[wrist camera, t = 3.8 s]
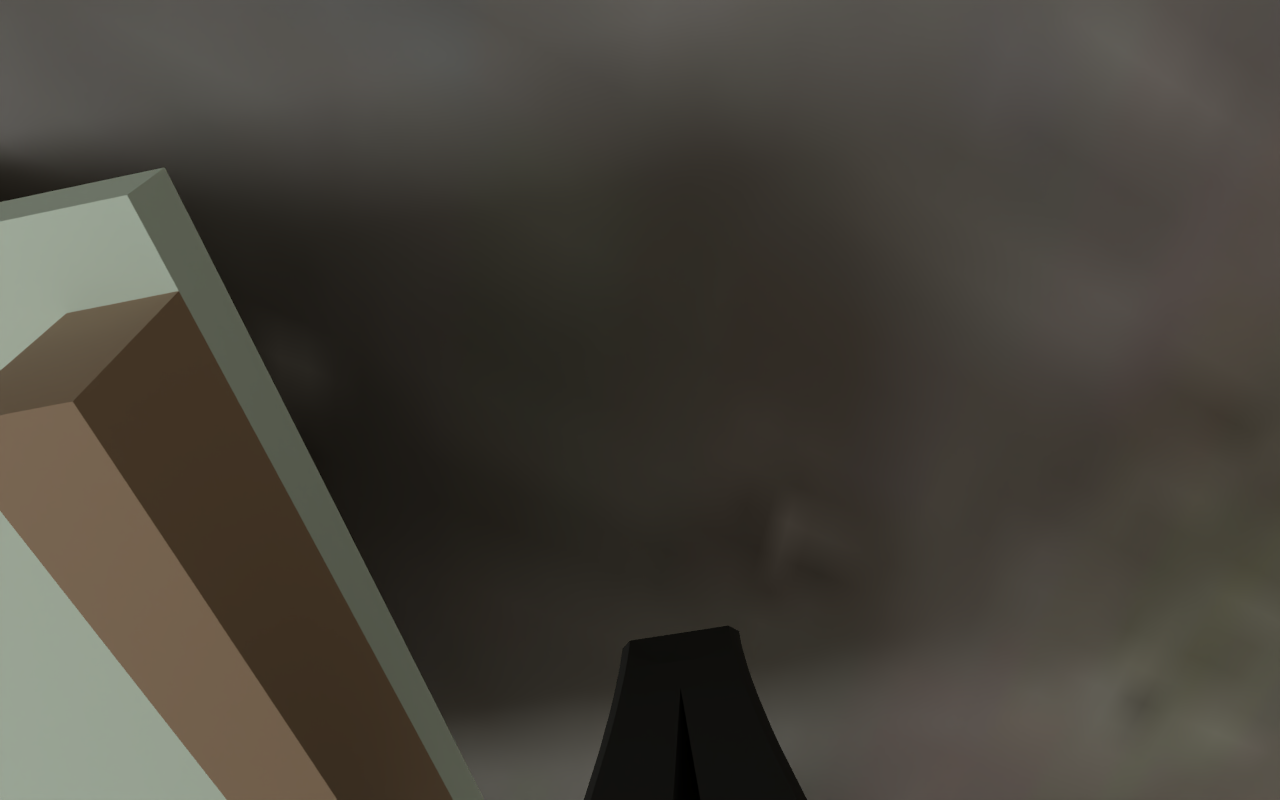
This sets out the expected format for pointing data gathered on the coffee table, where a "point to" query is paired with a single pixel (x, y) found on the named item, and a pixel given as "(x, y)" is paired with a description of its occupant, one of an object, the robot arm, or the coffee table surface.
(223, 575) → the lid
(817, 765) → the coffee table surface
